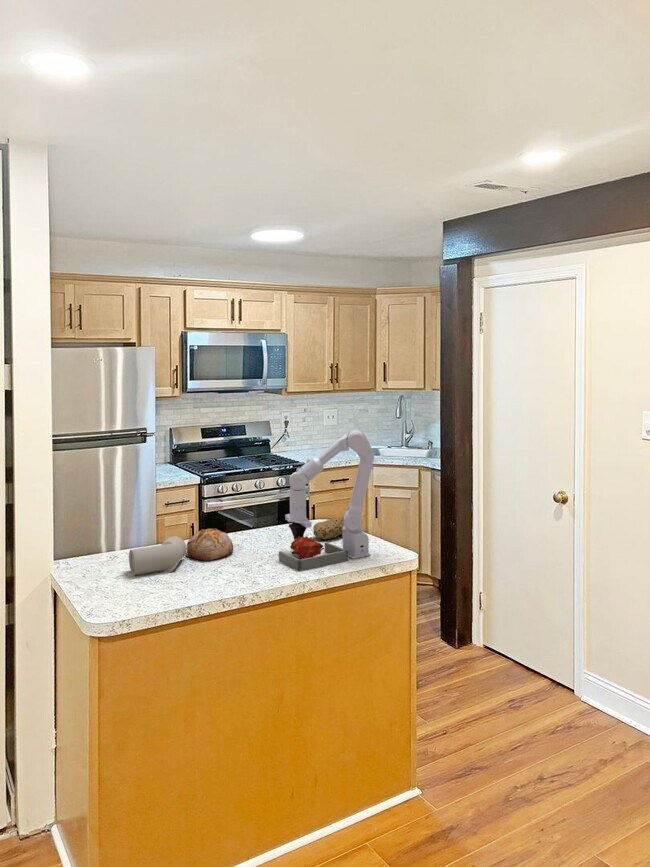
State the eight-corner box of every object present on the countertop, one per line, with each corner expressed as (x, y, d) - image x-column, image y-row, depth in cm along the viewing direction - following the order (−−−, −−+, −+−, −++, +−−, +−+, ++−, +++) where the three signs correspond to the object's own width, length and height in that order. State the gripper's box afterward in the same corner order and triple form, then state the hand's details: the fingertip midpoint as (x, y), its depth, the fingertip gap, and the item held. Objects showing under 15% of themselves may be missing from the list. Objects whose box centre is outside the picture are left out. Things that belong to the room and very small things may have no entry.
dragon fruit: (287, 561, 246) (321, 566, 246) (288, 553, 239) (322, 558, 239) (291, 538, 251) (324, 543, 250) (291, 530, 243) (326, 535, 243)
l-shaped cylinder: (180, 574, 225) (192, 555, 245) (172, 543, 224) (185, 527, 244) (127, 586, 226) (144, 566, 246) (118, 555, 225) (136, 538, 245)
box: (348, 560, 242) (348, 550, 242) (298, 571, 231) (298, 560, 231) (326, 551, 253) (326, 542, 252) (278, 561, 242) (278, 551, 241)
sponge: (346, 531, 284) (302, 527, 275) (352, 513, 283) (307, 509, 273) (361, 546, 273) (316, 542, 263) (367, 527, 271) (321, 522, 262)
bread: (186, 566, 241) (183, 538, 240) (188, 549, 260) (186, 523, 259) (234, 560, 243) (231, 532, 242) (233, 544, 263) (230, 518, 261)
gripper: (277, 503, 251) (278, 540, 253) (299, 511, 240) (299, 550, 241) (294, 501, 255) (295, 537, 257) (316, 508, 243) (316, 546, 245)
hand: (298, 543), depth 249 cm, fingers closed
